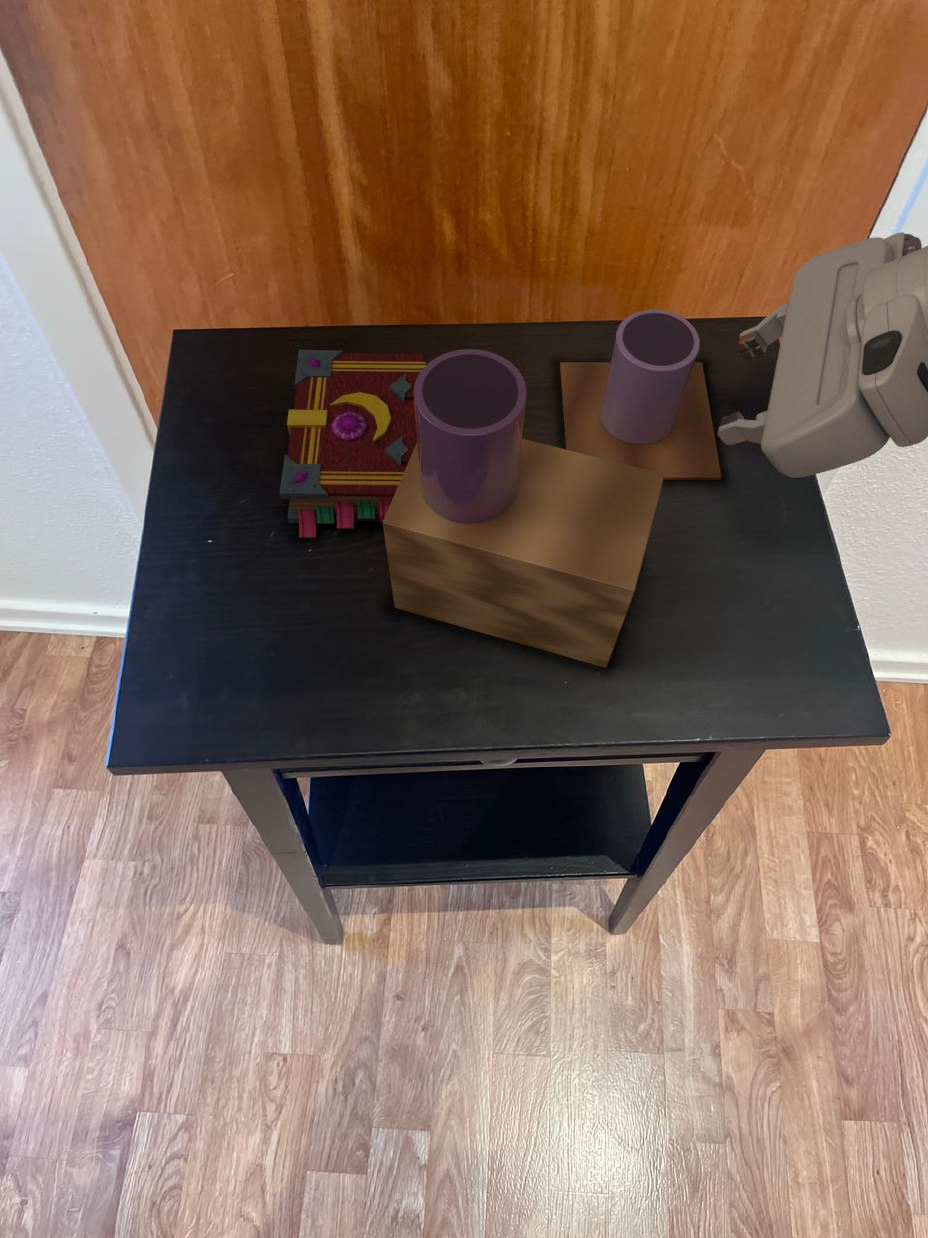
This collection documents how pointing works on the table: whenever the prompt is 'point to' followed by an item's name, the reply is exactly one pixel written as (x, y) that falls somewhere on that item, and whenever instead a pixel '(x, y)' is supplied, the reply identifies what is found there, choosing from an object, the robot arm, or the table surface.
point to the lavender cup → (648, 375)
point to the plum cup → (469, 434)
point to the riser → (530, 554)
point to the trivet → (674, 455)
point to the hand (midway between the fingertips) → (732, 388)
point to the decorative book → (348, 436)
